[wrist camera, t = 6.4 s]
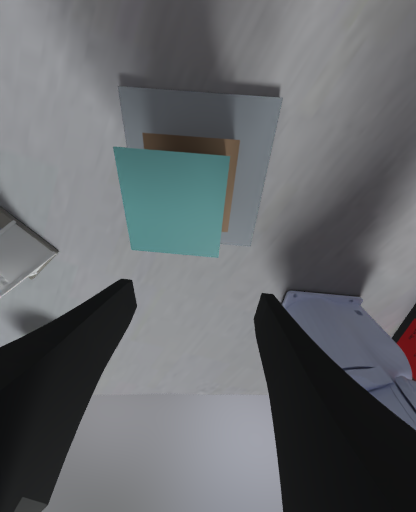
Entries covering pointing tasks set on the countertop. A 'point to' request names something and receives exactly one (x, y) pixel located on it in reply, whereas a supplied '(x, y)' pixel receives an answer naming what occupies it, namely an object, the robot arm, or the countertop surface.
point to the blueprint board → (212, 126)
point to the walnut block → (200, 147)
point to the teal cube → (173, 200)
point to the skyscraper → (20, 252)
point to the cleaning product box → (408, 339)
